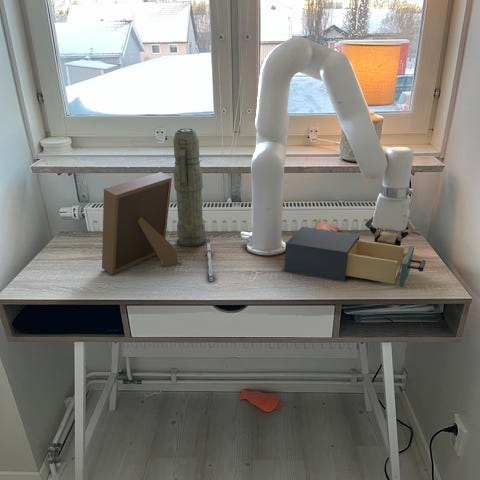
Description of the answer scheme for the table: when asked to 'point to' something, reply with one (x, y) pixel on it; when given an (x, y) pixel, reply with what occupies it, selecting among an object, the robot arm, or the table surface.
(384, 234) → the box
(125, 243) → the photo frame
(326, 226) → the sunglasses case
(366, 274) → the drawer
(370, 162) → the robot arm
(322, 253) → the cabinet
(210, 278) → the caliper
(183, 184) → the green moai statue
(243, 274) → the table surface
